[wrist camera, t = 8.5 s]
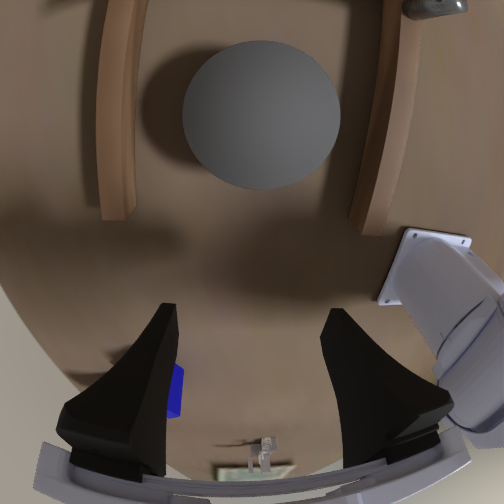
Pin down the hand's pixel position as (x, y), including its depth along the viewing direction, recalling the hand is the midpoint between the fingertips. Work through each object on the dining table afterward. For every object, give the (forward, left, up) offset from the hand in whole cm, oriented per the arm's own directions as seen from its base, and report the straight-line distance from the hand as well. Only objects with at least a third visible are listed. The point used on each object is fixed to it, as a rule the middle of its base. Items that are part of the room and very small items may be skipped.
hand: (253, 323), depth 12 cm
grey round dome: (0, -9, -9) cm, 12 cm away
